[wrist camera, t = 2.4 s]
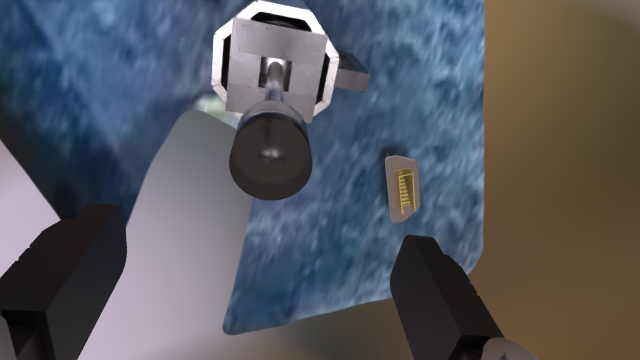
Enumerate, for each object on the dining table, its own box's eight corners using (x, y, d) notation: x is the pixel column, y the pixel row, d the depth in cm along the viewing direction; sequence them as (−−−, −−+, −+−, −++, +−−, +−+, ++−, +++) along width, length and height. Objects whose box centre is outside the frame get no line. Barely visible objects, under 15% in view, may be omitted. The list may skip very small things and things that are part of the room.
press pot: (235, -16, 39) (213, -9, 26) (355, 9, 41) (390, 27, 28) (228, 77, 43) (206, 124, 30) (336, 95, 45) (359, 146, 32)
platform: (433, 101, 47) (455, 119, 42) (436, 215, 56) (454, 242, 51) (342, 120, 48) (350, 140, 42) (359, 230, 56) (368, 259, 51)
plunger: (235, 11, 29) (181, 61, 13) (325, 29, 30) (376, 94, 14) (228, 101, 32) (179, 227, 16) (310, 113, 33) (337, 242, 18)
